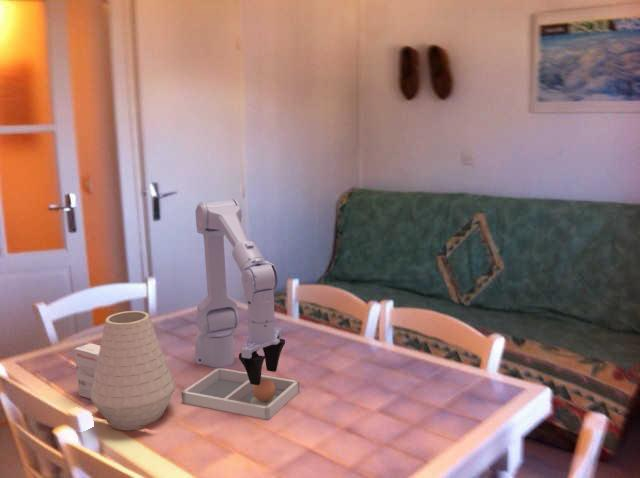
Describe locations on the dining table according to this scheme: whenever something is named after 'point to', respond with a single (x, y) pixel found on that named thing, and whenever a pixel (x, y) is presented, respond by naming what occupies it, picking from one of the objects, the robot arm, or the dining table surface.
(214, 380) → the tray
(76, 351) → the ink box
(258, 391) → the ball
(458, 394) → the dining table surface
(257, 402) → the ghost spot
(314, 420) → the dining table surface
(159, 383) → the vase
